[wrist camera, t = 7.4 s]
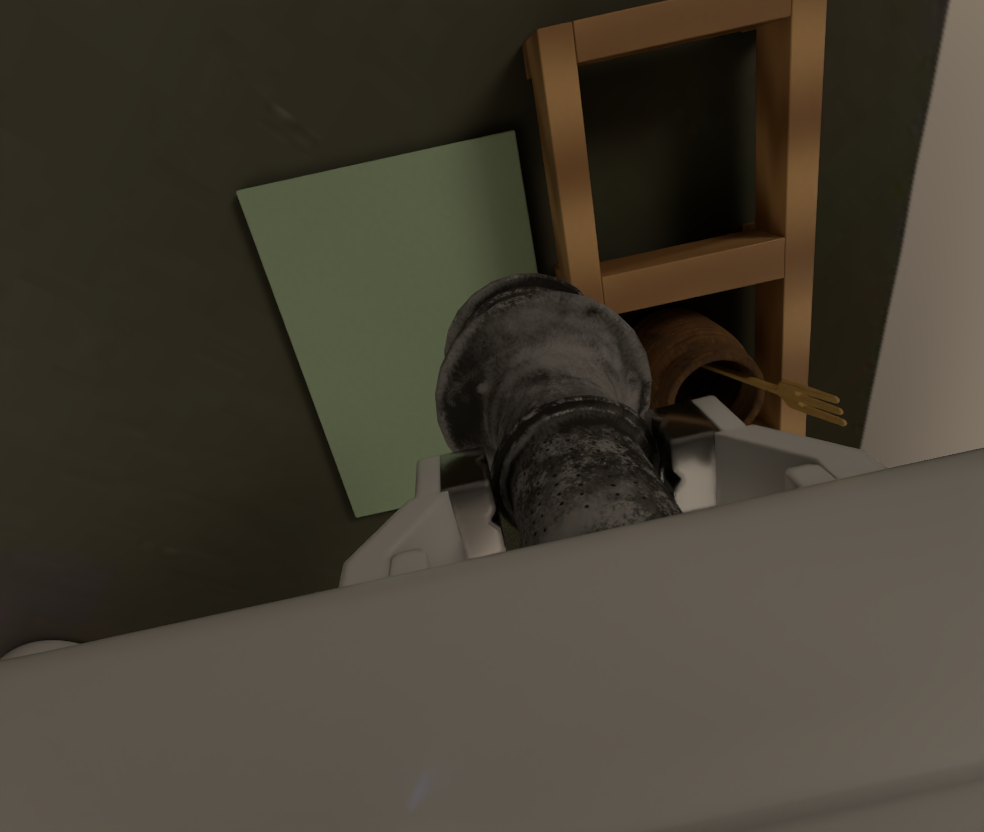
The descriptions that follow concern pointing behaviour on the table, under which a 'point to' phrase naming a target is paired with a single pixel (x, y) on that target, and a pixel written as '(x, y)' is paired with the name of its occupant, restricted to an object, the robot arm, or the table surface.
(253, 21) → the table surface
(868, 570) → the robot arm
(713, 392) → the utensil holder
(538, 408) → the dark grey upright figure
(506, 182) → the mat
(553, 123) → the rack
